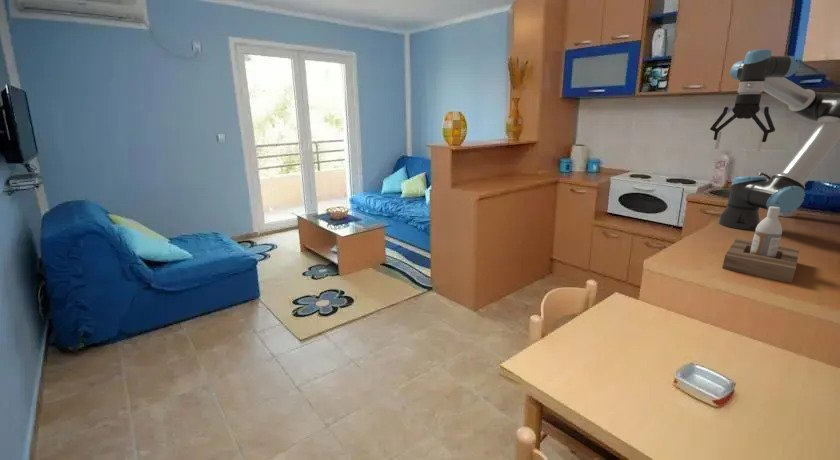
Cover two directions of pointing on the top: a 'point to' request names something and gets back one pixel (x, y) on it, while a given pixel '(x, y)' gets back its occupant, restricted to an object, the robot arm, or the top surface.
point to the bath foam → (767, 235)
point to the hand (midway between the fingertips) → (736, 149)
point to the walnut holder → (761, 261)
